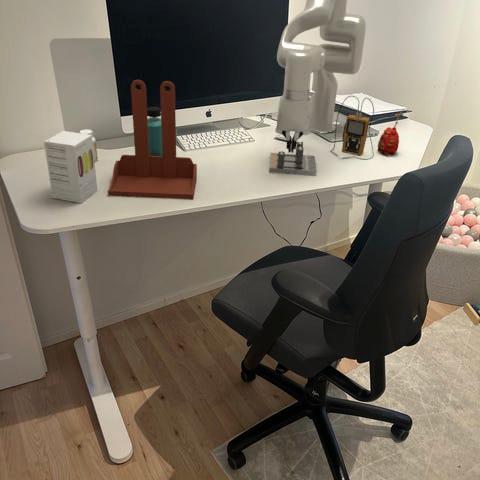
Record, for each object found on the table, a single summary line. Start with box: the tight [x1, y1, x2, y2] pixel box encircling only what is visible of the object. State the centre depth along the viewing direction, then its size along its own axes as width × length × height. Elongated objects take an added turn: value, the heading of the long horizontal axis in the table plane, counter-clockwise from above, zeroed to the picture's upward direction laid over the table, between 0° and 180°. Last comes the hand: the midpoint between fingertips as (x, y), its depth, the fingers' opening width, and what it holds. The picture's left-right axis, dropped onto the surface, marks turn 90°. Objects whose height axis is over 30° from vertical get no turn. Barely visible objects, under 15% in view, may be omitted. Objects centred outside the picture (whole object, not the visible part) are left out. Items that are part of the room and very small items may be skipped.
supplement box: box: [43, 130, 98, 204], centre depth 142 cm, size 10×9×17 cm
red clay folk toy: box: [377, 110, 402, 157], centre depth 181 cm, size 8×7×15 cm
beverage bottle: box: [147, 106, 162, 156], centre depth 158 cm, size 6×7×20 cm
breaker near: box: [277, 150, 286, 168], centre depth 164 cm, size 2×2×5 cm
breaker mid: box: [295, 146, 304, 163], centre depth 168 cm, size 2×2×5 cm
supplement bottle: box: [78, 129, 98, 163], centre depth 165 cm, size 5×5×10 cm
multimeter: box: [330, 95, 375, 161], centre depth 175 cm, size 15×10×20 cm
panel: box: [268, 152, 318, 177], centre depth 170 cm, size 13×15×2 cm
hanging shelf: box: [107, 79, 198, 200], centre depth 145 cm, size 24×13×30 cm, turn 90°
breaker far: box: [295, 140, 304, 154], centre depth 173 cm, size 2×2×5 cm
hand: (290, 150), depth 163 cm, fingers closed
